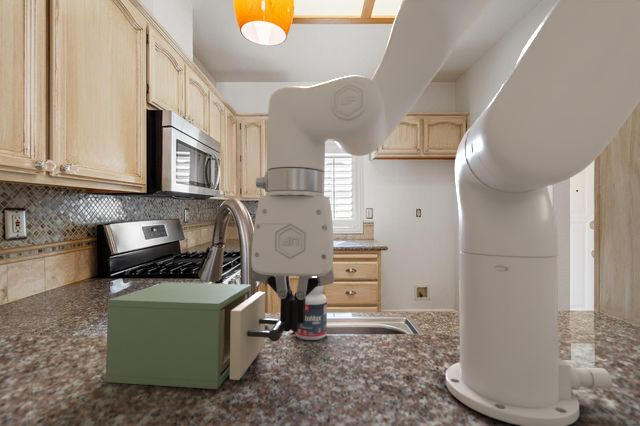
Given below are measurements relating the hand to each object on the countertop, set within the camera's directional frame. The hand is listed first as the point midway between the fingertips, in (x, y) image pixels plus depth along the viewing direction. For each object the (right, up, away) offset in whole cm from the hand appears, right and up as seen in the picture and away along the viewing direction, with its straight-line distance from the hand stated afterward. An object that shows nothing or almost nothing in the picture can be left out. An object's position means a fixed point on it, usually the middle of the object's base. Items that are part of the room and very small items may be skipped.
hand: (292, 328), depth 41 cm
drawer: (-9, -4, +1) cm, 10 cm away
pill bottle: (+2, -6, +13) cm, 14 cm away
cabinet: (-14, -5, +1) cm, 15 cm away
